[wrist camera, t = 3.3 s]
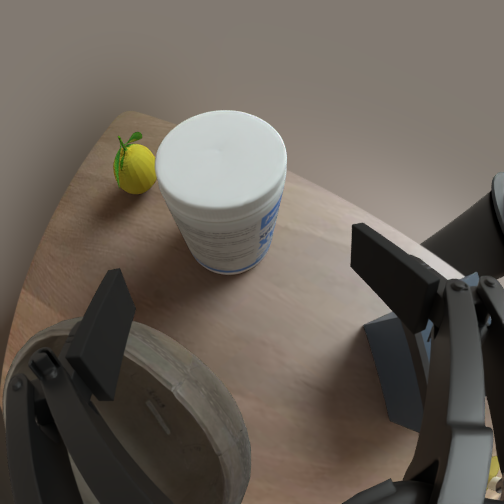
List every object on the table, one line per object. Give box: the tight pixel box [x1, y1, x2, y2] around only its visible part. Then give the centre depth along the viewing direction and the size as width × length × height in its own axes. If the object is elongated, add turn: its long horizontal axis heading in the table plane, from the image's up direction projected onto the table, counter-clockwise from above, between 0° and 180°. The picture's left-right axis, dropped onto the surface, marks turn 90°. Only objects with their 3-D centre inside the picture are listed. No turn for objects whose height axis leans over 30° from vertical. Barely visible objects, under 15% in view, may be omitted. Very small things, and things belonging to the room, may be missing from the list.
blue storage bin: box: [363, 272, 491, 433], centre depth 22 cm, size 13×13×10 cm
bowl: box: [3, 316, 251, 504], centre depth 17 cm, size 21×21×15 cm
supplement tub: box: [155, 110, 287, 275], centre depth 24 cm, size 10×10×15 cm
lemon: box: [113, 132, 157, 194], centre depth 28 cm, size 7×6×10 cm
